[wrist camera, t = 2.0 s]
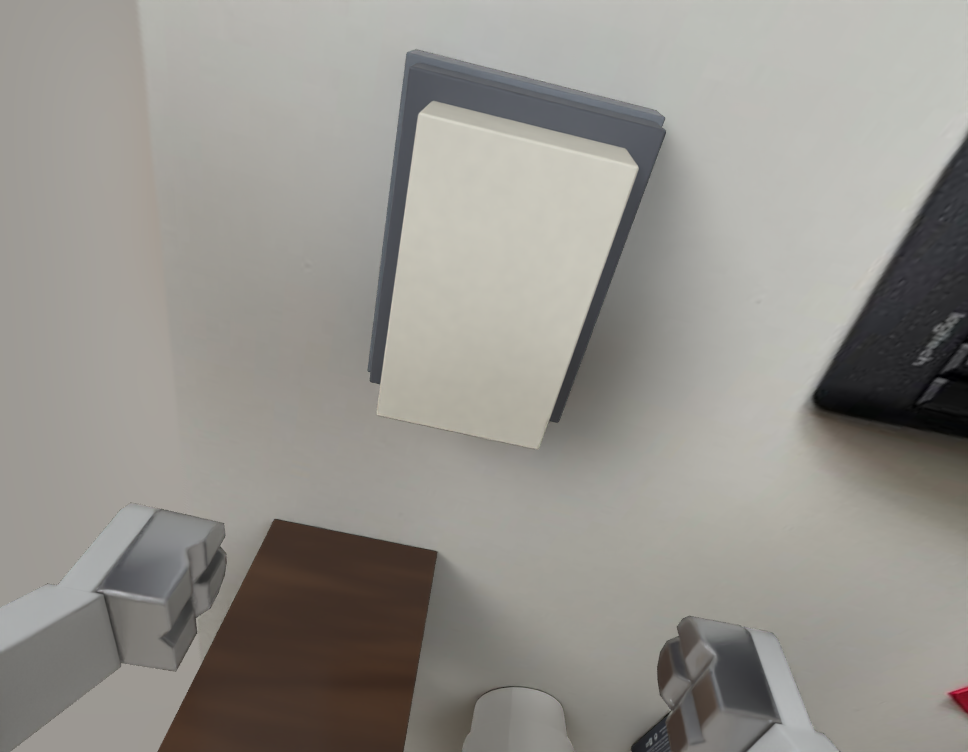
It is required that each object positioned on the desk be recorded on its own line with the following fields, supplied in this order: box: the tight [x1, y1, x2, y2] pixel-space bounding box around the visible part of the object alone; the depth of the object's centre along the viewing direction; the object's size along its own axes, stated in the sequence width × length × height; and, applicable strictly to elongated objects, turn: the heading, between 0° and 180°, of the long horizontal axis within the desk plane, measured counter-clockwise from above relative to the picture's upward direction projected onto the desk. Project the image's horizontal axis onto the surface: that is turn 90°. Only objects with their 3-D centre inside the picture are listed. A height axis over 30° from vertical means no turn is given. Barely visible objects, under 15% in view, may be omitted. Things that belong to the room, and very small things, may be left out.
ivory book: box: [376, 101, 639, 450], centre depth 20 cm, size 11×6×3 cm, turn 168°
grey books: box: [368, 49, 666, 423], centre depth 23 cm, size 13×9×3 cm
